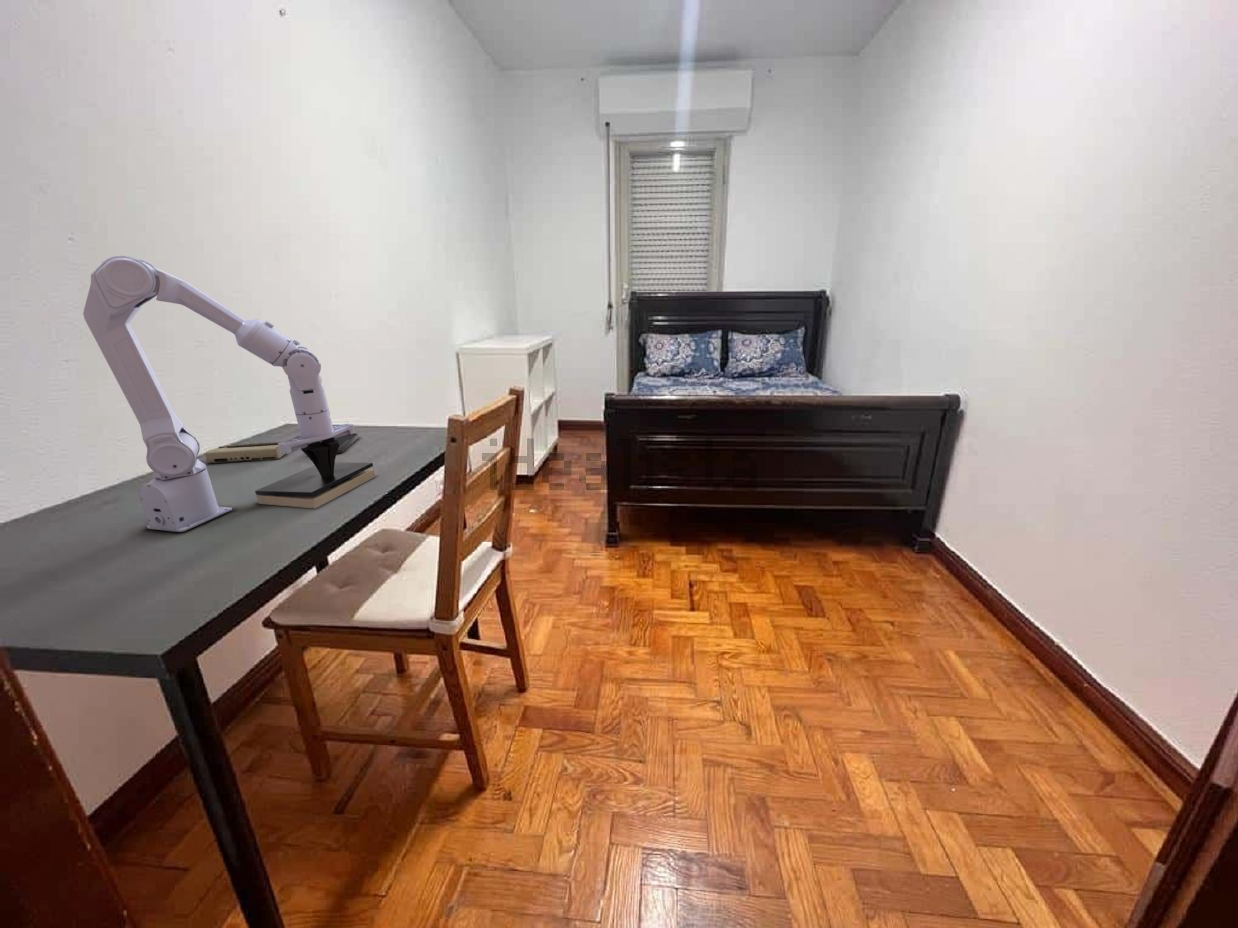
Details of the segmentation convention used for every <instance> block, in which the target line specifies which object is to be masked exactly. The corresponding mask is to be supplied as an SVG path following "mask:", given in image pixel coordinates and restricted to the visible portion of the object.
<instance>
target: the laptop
mask: <svg viewBox="0 0 1238 928" xmlns="http://www.w3.org/2000/svg"><path fill="white" fill-rule="evenodd" d="M374 478H376V473H375V469H374V468H368V469H366V470H364V471H362V472H360V473H358V474H356V475H354V476H352V477H350V478H348V479H346V480H344V481H342V482H340V483H338V484H336V485H334V486H332V487H330V488H328V489H326V490H324V491H322V492H320V493H318V494H316V495H314V496H285V495H256V494H255V495H256V499H257V503H258V504H259V505H266V506H267V505H268V506H279V507H280V506H281V507H291V508H292V507H293V508H305V509H315V510H316V509H317V508H319V507H321V506H323V505H325V504H327V503H329V502H330V501H332V500H334V499H336V498H339V497H340V496H342V495H344V494H346V493H348V492H349V491H351V490H353V489H355V488H357V487H360V486H361V485H363V484H365V483H366V482H368V481H370V480H373V479H374Z"/></svg>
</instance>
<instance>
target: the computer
mask: <svg viewBox="0 0 1238 928" xmlns="http://www.w3.org/2000/svg"><path fill="white" fill-rule="evenodd" d="M280 442H281V441H274V442H273V441H272V442H271V441H270V442H257V443H245V444H243V443H242V444H241V443H240V444H233V445H228V444H225V445H222V446H221V445H220V446H218V447H214V448H211V449H208V450H206V451H205V460H206V462H207V464H212V463H213V464H217V463H218V464H221V462H222V463H233V462H243V461H253V462H255V461H269V460H278V459H281V457H283V456H284V455H285V454H284V453H280V449H279V445H278V443H280Z"/></svg>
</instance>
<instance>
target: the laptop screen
mask: <svg viewBox="0 0 1238 928" xmlns="http://www.w3.org/2000/svg"><path fill="white" fill-rule="evenodd" d="M373 467H374V464H373V462H351V461H350V462H346V461H345V462H338V461H337V462H336V461H335V464H334V476H331V477H329V478H326V477H321V475H320V473H319V471H318V470H317V468H316V466H315V465H314V464H313V465H312V466H310V467H308V468H305V469H302V470H300V471H298V472H296V473H294V474H291V475H289V476H287V477H285V478H282V479H279V480H276V481H275V482H272V483H270V484H267V485H266V486H263V487H261V488H259V489H256V490H254V492H255V495H285V496H314V495H316V494H318V493H320V492H322V491H324V490H326V489H328V488H330V487H332V486H334V485H336V484H338V483H340V482H342V481H344V480H346V479H348V478H350V477H352V476H354V475H356V474H358V473H360V472H362V471H364V470H366V469H371V468H373Z"/></svg>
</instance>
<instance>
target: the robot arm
mask: <svg viewBox="0 0 1238 928" xmlns="http://www.w3.org/2000/svg"><path fill="white" fill-rule="evenodd" d="M86 296H87V297H86V301H85V304H84V308H83V312H82V315H83V318H84V320H85V321H84V322H85V323H86V325H87V326H88V328H89V331H90V332H91V334H92V336H93V338H94V340H95V342H96V344H97V346H98V347H99V349H100V351H101V353H102V356H103V357H104V359H105V361H106V363H107V365H108V366H109V369H110V370H111V373H112V375H113V376H114V378H115V381H116V382H117V384H118V385H119V387H120V390H121V391H122V393H123V395H124V397H125V399H126V400H127V403H128V405H129V406H130V408H131V410H132V412H133V414H134V416H135V418H136V420H137V422H138V424H139V426H140V431H141V437H142V442H143V443H144V444H145V447H146V456H145V459H146V464H147V466H148V468H149V469H150V470H151V471H152V472H153V473H152V475H153V478H152V479H151V480H150V481H148V482H147V483H144V484H143V485H141V486H140V488H139V490H138V491H139V492H138V495H139V499H140V502H141V505H142V508H143V511H144V514H145V516H146V519H147V522H148V525H147V526H146V528H147V529H148V530H158V531H166V532H176V533H183V532H186V531H188V530H192V529H193V528H195V527H198V526H199V525H203V524H204V523H206V522H209V521H211V520H213V519H215V518H218V517H220V516H222V515H224V514H226V513H230V512H232V510H233V509H232V507H228V506H219V504H218V501H217V498H216V494H215V492H214V488H213V485H212V481H211V478H210V475H209V472H208V468H207V465H206V463H204V462H202V461H201V460H200V459H199V458H197V456H198V455H199V453H200V449H201V445H200V442H199V440H198V438H197V437H196V436H195V435H194V434H192V433H190V432H189V431H188V430H187V429H186V427H185V426H184V424H183V422H182V420H181V419H180V418H179V417H178V416H177V415H176V414H175V412H174V409H173V406H172V405H171V403H170V400H168V397H167V395H166V393H165V391H164V389H163V387H162V385H161V383H160V381H159V379H158V376H157V375H156V372H155V370H154V368H153V367H152V365H151V363H150V361H149V358H148V357H147V355H146V353H145V350H144V349H143V346H142V344H141V342H140V339H139V338H138V336H137V333H136V332H135V330H134V328H133V326H132V324H131V321H132V320H133V319H134V318H135V316H136V315H137V314H138V312H139V311H140V309H141V308H142V306H143V305H145V304H146V303H148V302H150V301H151V300H153V299H154V298H155V300H156V301H158V302H165V303H170V304H175V305H181V306H184V307H186V308H187V309H189V310H191V311H192V312H194V313H196V314H198V315H199V316H202V317H203V318H204V319H207V320H209V322H212V323H213V324H216V325H217V326H219V327H221V328H223V329H224V330H226V331H228V332H230V333H232V334H233V335H234V337H235V340H236V344H237V346H239V347H240V348H242V349H243V350H246V351H247V352H248V353H251V354H253V355H254V356H255V357H257V358H259V359H260V360H263V361H264V362H266V363H268V364H269V365H271V366H273V367H281V368H282V370H283V373H284V374H286V376H287V379H288V383H289V387H290V388H289V394H290V399H291V403H292V406H293V410H294V413H295V418H296V423H297V426H298V430H299V434H298V435H296V436H293V437H291V438H288V439H287V440H284V441H279V442H280V443H278V445H279V449H280V453H284V455H288V454H291V453H293V452H295V451H298V450H300V451H301V452H303V453H304V454H305V455H306V456H307V457H308V459H309V460H310V461H311V462H312V464H313V466H314V465H315V466H316V468H317V470H318V471H319V473H320V475H321V477H326V478H329V477H331V476H334V464H335V462H336V458H337V455H338V454H337V451H338V449H339V446H340V444H339V441H336V440H334V438H338V437H341V436H344V435H347V434H354V433H356V431H355V427H354V424H352V423H344V424H340V425H335V426H333V421H332V416H331V412H330V408H329V404H328V399H327V395H326V390H325V387H324V385H322V382H323V380H322V377H321V374H320V373H321V369H322V365H321V362H320V361H319V359H318V358H317V356H316V355H315V354H314V353H313V352H312V351H311V350H309V349H308V347H306V346H301V345H300V344H301V342H300V341H298V340H297V339H294V340H292V339H291V338H289V337H288V336H286V335H284V334H283V333H281V332H280V331H278V330H276V329H275V328H274V326H275V325H274V324H273V323H271V322H270V321H268V320H266V321H265V322H264V321H262V320H261V319H259V318H254V319H244V318H243V317H242V316H240V315H238V314H236V312H233V311H232V310H230V309H229V308H228V307H226V306H225V305H223V304H221V303H220V302H219V301H217V300H215V299H214V298H212V297H211V296H209V295H207V294H206V293H204V291H201V290H200V289H198V288H196V287H195V286H194V285H192V284H191V283H189V282H187V281H185V280H183V279H181V278H179V277H177V276H175V275H173V274H171V273H169V272H166V271H165V270H163V269H159V268H157V267H155V266H154V265H152V264H151V263H150V262H148V261H145V260H142V259H138V258H135V257H133V256H130V255H129V256H128V255H114V256H113V255H112V256H110V257H108V258H106V259H104V260H103V261H102V262H101V263H100V264H99V265H98V266H97V267H96V268H95V269H94V271H92V272H91V274H90V285H89V289H88V292H87V295H86Z"/></svg>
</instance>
